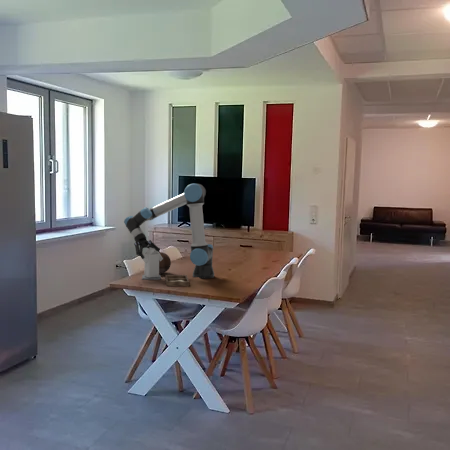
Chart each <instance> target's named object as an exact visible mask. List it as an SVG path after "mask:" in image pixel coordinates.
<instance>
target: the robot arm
mask: <svg viewBox="0 0 450 450" xmlns="http://www.w3.org/2000/svg"><path fill="white" fill-rule="evenodd" d="M206 193H207V190H206V188H205V186H203V184H201V183H190V184H188V185H187V186H186V187H185V188H184V191H183V193H181V194H179V195H176V196H174V197H172V198H170V199H168V200H166V201H163V202H161V203H159V204H157V205H155V206H153V207H150V208H149V207H143V208H142V209H140V211H138V212H137V213H136V214H135V215H134V216H133V215H129V216H127V217H126V218H124V221H123V223H124V225H125V227H126V229H127V230H128V232H129V233H130V234H131V236H132V238H133V239H134V243H133V245H134V247H135V248H134V249H135V254H136V255H137V256H138V257H140V258H141V259H142V260H143V263H144V265H145V264H146V263H147V262H148V259H147V258H146V256H145V253H144V252H143V250H144V249H145V248H146V249H149V247H150V248H154V249H155V250H156V251H157V253H158V254H159V260H160V261H162V259H163V258H162V256H161V254H160V252H161V248H159V247H158V246H157V245H156V244H155V243H154V242H153V241H152V240H151V239H149V240H147V236H146V234H145V233H144V231H143V230H142V228H141V227H140V226H141V225H142V224H143V225H144V224H145V222H149V221H152V220H154V219H156V218H158V217H161V216H162V215H164V214H167V213H169V212H171V211H173V210H176V209H177V208H180V207H183V206H185V205H186V206H187V207H188V208H189V219H190V231H191V240H192V243H191V244H190V253H189V260H190V261H191V263H192V264H194V269H193V272H192V277H193V278H199V279H213V278H215V271H214V267H213V255H214V254H213V253H214V246H213V244H210V243H208V242H207V241H206V234H205V224H204V223H205V222H204V213H203V205H205V197H206Z"/></svg>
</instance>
